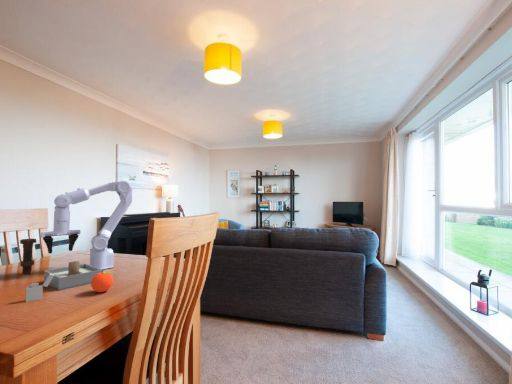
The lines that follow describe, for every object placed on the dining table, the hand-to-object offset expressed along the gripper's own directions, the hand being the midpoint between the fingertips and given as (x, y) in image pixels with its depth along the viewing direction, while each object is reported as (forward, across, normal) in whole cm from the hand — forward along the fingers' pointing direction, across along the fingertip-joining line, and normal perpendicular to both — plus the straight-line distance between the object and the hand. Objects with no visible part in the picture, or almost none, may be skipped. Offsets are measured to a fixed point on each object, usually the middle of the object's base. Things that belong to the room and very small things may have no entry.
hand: (60, 251), depth 117 cm
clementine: (+10, -1, +39) cm, 40 cm away
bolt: (+10, +9, -10) cm, 17 cm away
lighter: (+10, +15, +30) cm, 35 cm away
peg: (+9, +1, +18) cm, 20 cm away
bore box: (+9, +1, +18) cm, 20 cm away
